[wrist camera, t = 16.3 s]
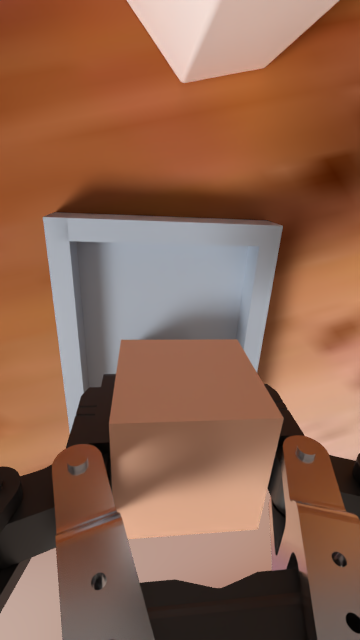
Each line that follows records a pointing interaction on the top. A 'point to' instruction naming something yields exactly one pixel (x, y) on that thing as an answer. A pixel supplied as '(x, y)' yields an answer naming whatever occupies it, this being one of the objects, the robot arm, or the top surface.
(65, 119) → the top surface
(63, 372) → the tray
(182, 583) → the robot arm
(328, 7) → the jar
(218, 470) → the block terracotta
